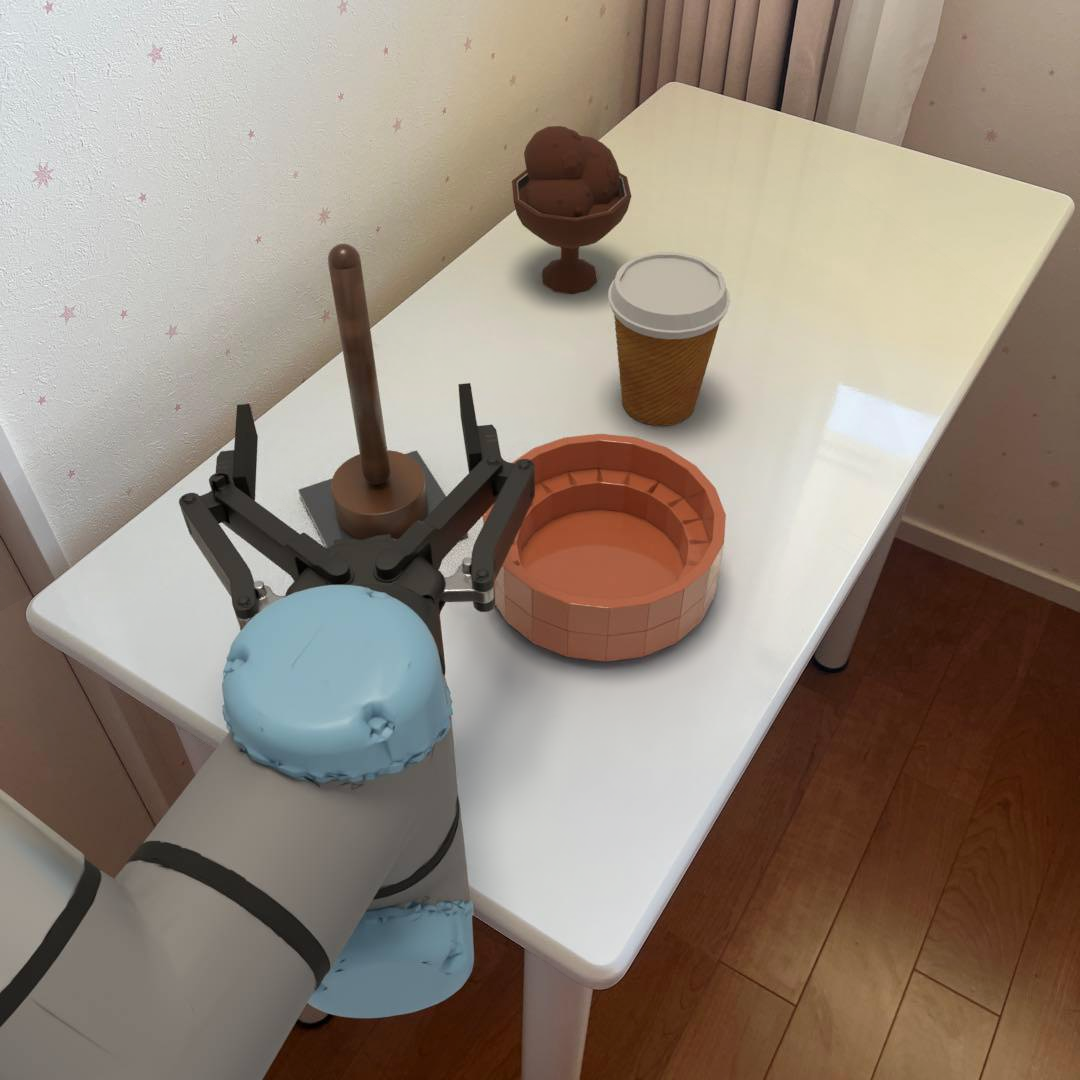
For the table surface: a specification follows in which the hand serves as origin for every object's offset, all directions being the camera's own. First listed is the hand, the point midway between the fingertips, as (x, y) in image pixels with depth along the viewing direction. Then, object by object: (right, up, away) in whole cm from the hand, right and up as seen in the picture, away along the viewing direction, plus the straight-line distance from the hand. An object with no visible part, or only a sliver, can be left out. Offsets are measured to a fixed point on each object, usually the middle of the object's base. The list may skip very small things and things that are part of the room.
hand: (357, 410), depth 69 cm
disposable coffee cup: (+22, +4, +25) cm, 33 cm away
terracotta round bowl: (+16, -11, +12) cm, 22 cm away
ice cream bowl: (+14, +17, +38) cm, 44 cm away
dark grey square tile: (-1, -6, +16) cm, 17 cm away
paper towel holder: (-1, -6, +15) cm, 16 cm away
